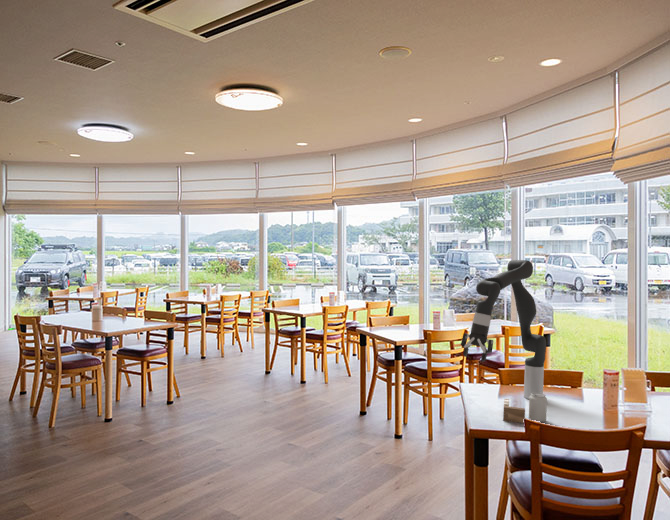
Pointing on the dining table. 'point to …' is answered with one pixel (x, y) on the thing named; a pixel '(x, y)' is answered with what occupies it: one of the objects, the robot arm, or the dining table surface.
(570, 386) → the dining table surface
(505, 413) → the corner stop
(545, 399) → the can
